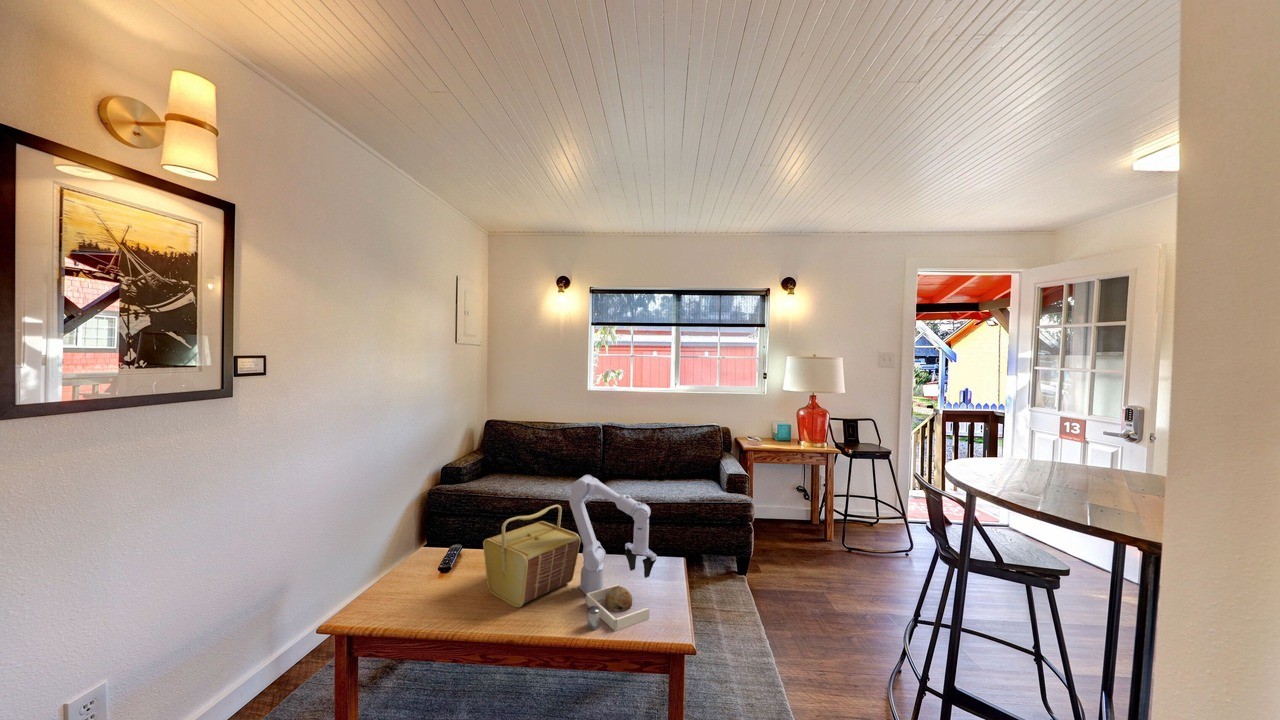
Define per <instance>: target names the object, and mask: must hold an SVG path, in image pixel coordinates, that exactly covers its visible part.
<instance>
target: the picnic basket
mask: <svg viewBox="0 0 1280 720" xmlns="http://www.w3.org/2000/svg"><path fill="white" fill-rule="evenodd" d="M554 508H558V513H557V514H558V516H557V523H556V525H555V524H552V523H549V522H547V521H544V520H540V521H537V522H534V523H531V524H527V525H525V526H522V527H519V528H518V527H517V528H516V529H512V530H510V531H507V532H506V527H507V524H508V523H510V522H514V521H517V520H521V521H530V520H533V519H536V518H537V519H538V518H539V517H542V516H543V515H545V514H546V513H547V512H548V511H549V510H552V509H554ZM562 512H563V509H562V506H561V505H559V504H553V505H551V506H548V507H545V508H544V509H541V510H540V511H538V512H536V513H533V514H530V515H517V516H514V517H511V518H508V519H506V520H505V521H504V522H503V523H502V525H501V533H500V534H497V535H494V536H492V537H489V538H485V539H484V540H483V541H482V544H483V545H482V546H483V547H482V548H483V554H484V555H483V556H484V557H483V558H484V564H485V566H484V567H485V573H486V584H487V587H488V589H489V591H490V593H491V594H492V595H493V596H495V597H497V598H498V599H500V600H502V601H504V602H506V603H507V604H509V605H510V606H512V607H514V608H516V609H518V608H521V607H522V606H523V605H525V604H526V603H528V602H531V601H533V600H535V599H537V598H539V597H540V596H543V595H544V594H547V593H549V592H552V591H553V590H555V589H557V588H559V587H560V586H563V585H565V584H570V583H571V582H572V581H573V579H574V575H575V570H576V566H577V560H578V558H579V557H578V555H579V550H580V545H581V537H580V536H579V535H580V534H578V533H576V532H574V531H571V530H569V529H565V528H563V527H561V522H562V521H561V520H562V514H563V513H562Z"/></svg>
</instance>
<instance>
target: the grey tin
mask: <svg viewBox="0 0 1280 720" xmlns="http://www.w3.org/2000/svg"><path fill="white" fill-rule="evenodd" d="M599 616H600V608H599V607H597V606H590V607H589V606H588V608H587V620H586V621H587V622H586V629H587V630H588V631H591V632H592V631H597V630H599V628H600V617H599Z"/></svg>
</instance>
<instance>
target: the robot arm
mask: <svg viewBox="0 0 1280 720" xmlns="http://www.w3.org/2000/svg"><path fill="white" fill-rule="evenodd" d="M597 494H598V495H599V496H601V497H603V498H605V499H607V500H609V501H610V502H613V503H615V505H616V508H617V509H618V510H620V511H622V512H624V513H625V514H627V515H629V516H630V517H632V520H633V521H634V523H633V542H632V543H631V542H626V543H625V544H624V546H625V547H624V549H625V550H626V551H624V556H625V557H626V559H627V563H628V567H629V570H630V571H634V570H636V562H637V555H640V556H643V557H645V558H644V559H642V563H643V564H642V565H643V571H644V572H643V573H644V574H643V575H644V578H645V579H646V578H649V577H650V575H651V572H652V569H653V566H654V564H655V563H656V561H657V554H656V553H655V552H653V551H652V550H651V549H649V537H650V536H649V535H650V534H649V533H650V516H651V513H652V511H651V508H650V505H647V503H645V502H643V503H642V502H641V501H636V500H635V499H634V498H632V497H631V495H630V494H627V495H626V494H625V493H624V494H619V493H618V492H616V491H614V490H613V489H612V488H610V487H608V485H605V484H604V483H603V482H602V481H600V480H599V479H598V478H596V477H594V476H592V475H591V474H585V475H583V476H582V477H580V478H579V479H577V480H575V481H574V482H573V483H572V485H571V487H570V496H569V501H568V502H569V507H570V509H571V511H572V515H573V518H574V521H575V524H576V526H577V531H578V533H579V535H580V536H579V537H580V541H581V543H582V545H583V549H582V556H583V560H582V561H583V566H582V567H581V569H580V584H579V585H578V586H577V587H578V588H579V589H580V590H581V591H582V592H583V593H584V594H585V595H586V594H587V593H590V592H594V591H597V590H600V589H604V588H605V587H604V574H605V572H604V570H605V568H604V567H605V566H604V561H605V559H606V557H607V553H606V550H605V549H604V548H603V546H602V545H601V542H600V541H598V540H597V537H596V535H595V531H594V529H593V525H592V524H591V523H592V522H591V520H590V517H589V513H588V511H587V508H586V504H585V500H586V498H587V496H591V495H597Z"/></svg>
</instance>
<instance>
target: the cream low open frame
mask: <svg viewBox="0 0 1280 720" xmlns="http://www.w3.org/2000/svg"><path fill="white" fill-rule="evenodd" d="M618 586H619V587H620V584H618V583H617V584H615V585H611V586H608V587H604V589H600V590H597V591H594V592H590V593H587V594H585V604H586V606H588V608H589V607H590V606H597V607H599V608H600V616H599V619H601V620H602V621H603V622H604V623H606V625H608V626H609V628H611V629H612V630H613V631H614V632H617V631H618V630H619V631H620V630H623V629H625V628H627V627H631V626H633V625H636V624H638V623H641V622H644V621H646V620H649V619H650V608H649V607H646V608H643V609H639V610H637V611H634V612H631V613H628V614H626V615H622V616H620V617H617V618H616V617H615V616H614V615H612V613H610V612H609V611H608V610H607V609H606V608H605V607H604V606H602V605H601V604H600V603H599V601H601V600H605V598H606V595H607V593H608V592H609V591H611V590H612V589H613V588H615V587H618Z"/></svg>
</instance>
